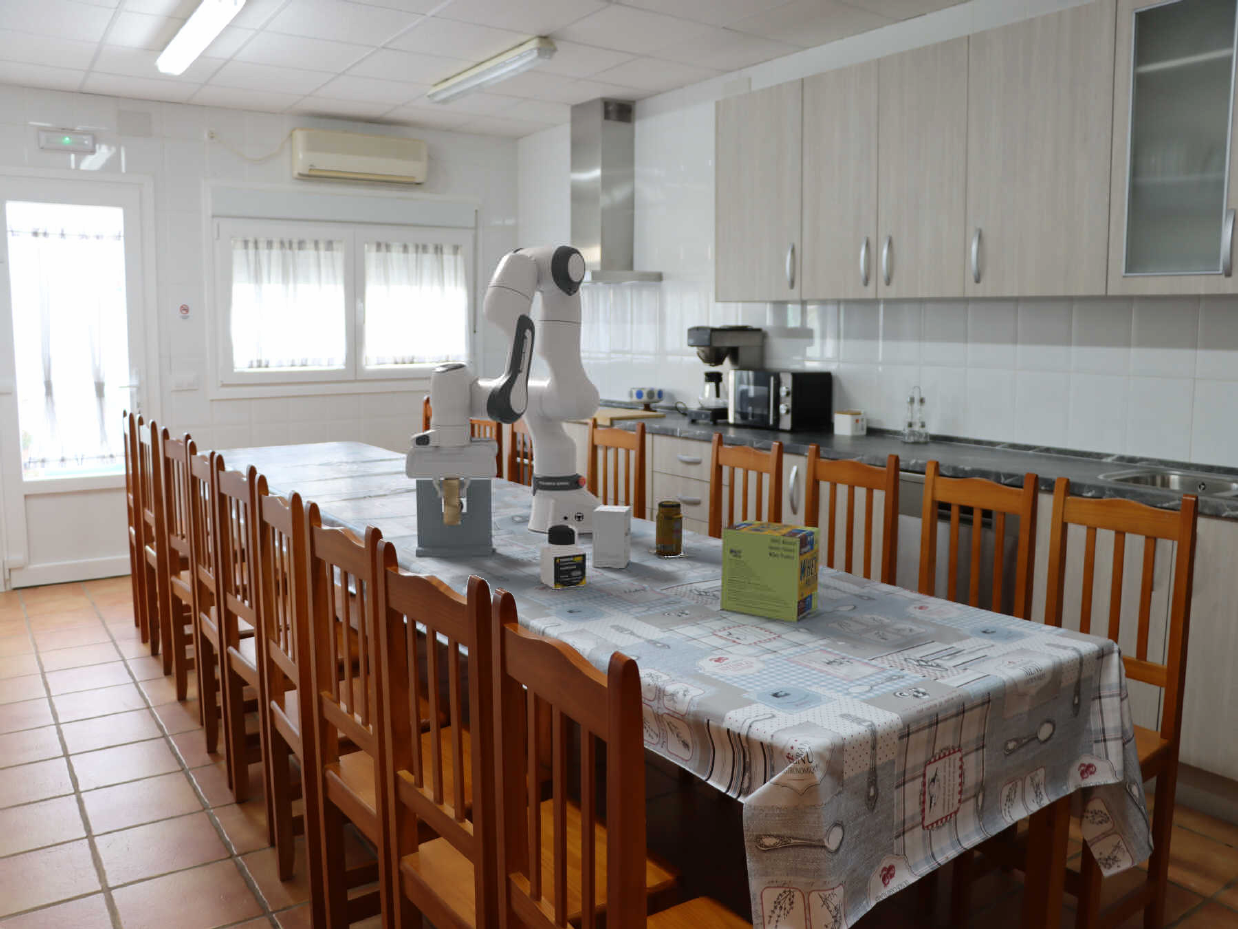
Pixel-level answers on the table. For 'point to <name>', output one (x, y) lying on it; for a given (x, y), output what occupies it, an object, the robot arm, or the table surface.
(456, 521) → the hanger block
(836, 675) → the table surface
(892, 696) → the table surface
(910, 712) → the table surface
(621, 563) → the supplement box
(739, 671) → the table surface
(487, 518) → the slate keyhole board
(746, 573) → the protein box
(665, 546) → the condiment
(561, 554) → the medicine bottle
